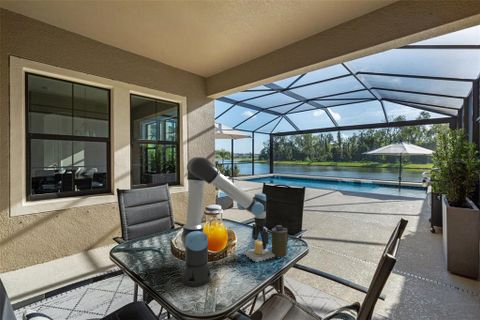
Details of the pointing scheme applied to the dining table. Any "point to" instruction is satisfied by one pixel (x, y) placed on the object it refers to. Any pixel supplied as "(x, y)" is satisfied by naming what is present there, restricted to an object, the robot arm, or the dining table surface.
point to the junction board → (259, 255)
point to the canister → (279, 241)
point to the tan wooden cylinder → (258, 247)
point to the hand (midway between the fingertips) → (259, 251)
